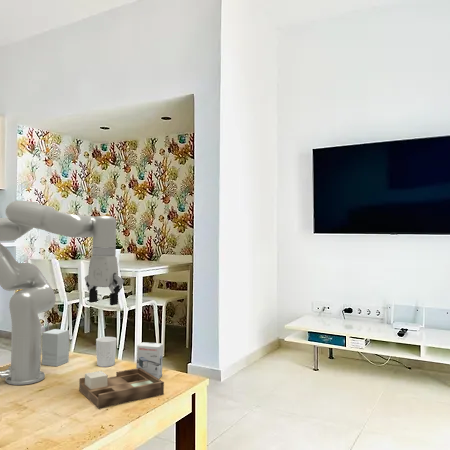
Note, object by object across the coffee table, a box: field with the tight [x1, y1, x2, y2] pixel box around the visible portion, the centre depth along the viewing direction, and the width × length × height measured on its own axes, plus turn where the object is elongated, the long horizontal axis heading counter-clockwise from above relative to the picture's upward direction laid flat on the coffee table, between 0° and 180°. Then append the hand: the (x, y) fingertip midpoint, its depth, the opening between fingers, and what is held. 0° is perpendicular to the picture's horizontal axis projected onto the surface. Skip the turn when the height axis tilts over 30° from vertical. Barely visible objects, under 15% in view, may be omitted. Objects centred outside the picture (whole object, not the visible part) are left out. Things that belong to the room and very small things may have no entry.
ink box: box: [135, 342, 164, 379], centre depth 163 cm, size 9×5×12 cm, turn 81°
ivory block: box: [84, 370, 109, 389], centre depth 146 cm, size 6×6×4 cm
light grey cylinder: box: [95, 336, 118, 368], centre depth 177 cm, size 8×8×10 cm
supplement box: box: [41, 328, 70, 367], centre depth 177 cm, size 7×7×13 cm
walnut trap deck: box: [78, 367, 165, 410], centre depth 147 cm, size 22×18×4 cm
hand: (103, 303), depth 151 cm, fingers open, 9 cm apart
